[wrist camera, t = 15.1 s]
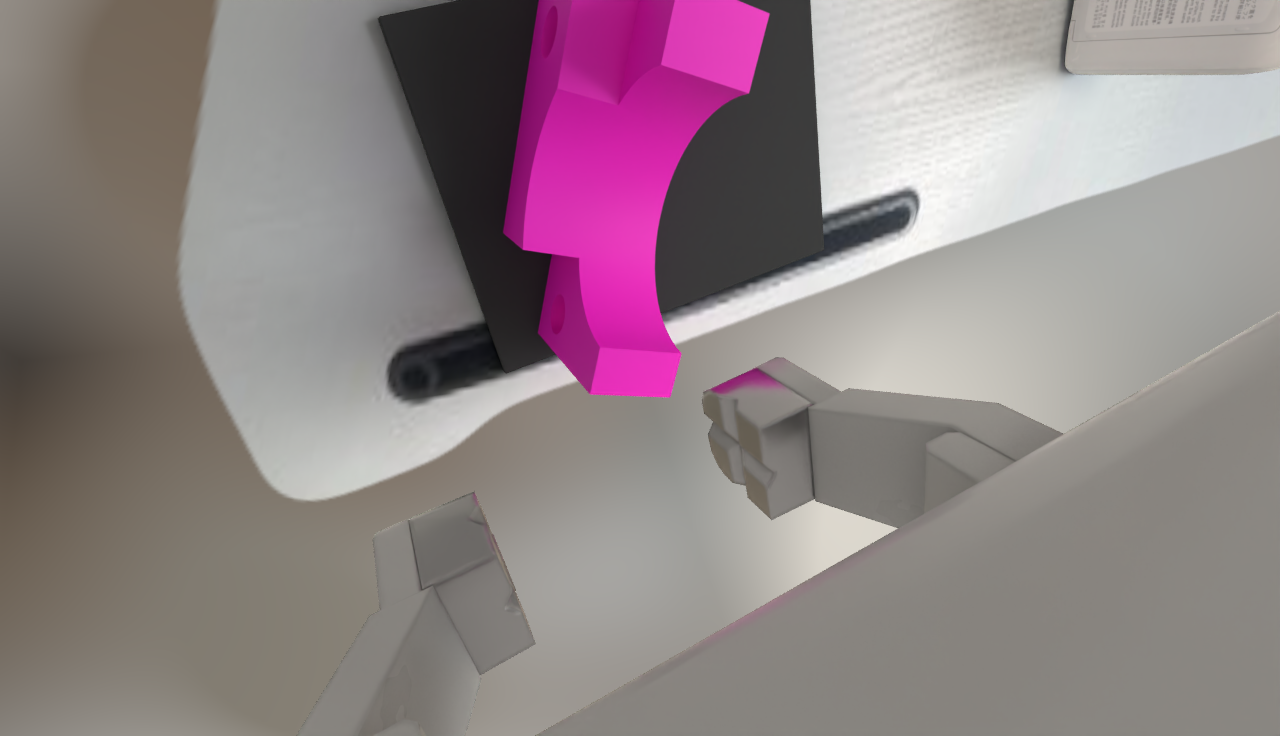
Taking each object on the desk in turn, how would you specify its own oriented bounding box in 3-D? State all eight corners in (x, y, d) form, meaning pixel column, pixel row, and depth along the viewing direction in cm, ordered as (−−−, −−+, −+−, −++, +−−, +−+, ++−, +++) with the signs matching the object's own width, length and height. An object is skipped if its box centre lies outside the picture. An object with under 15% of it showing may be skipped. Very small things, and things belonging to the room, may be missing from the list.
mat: (503, 370, 32) (505, 374, 31) (377, 18, 24) (378, 16, 24) (818, 248, 37) (824, 250, 37) (800, -70, 30) (806, -72, 29)
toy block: (541, -18, 25) (611, -52, 19) (672, 29, 28) (769, 13, 22) (488, 328, 30) (529, 392, 24) (605, 338, 33) (670, 397, 27)
